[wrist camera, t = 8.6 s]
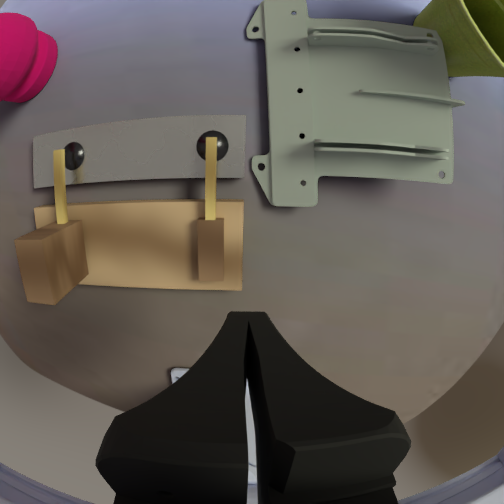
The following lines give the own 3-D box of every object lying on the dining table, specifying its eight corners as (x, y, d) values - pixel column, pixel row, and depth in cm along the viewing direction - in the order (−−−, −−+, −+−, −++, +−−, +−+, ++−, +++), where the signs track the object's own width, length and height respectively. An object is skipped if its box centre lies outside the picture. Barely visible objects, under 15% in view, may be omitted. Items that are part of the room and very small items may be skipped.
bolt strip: (243, 177, 19) (244, 178, 18) (41, 186, 18) (33, 188, 17) (245, 117, 18) (245, 115, 17) (40, 136, 17) (32, 136, 16)
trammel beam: (241, 283, 21) (241, 295, 19) (52, 276, 21) (40, 285, 19) (244, 139, 18) (245, 137, 16) (40, 155, 18) (25, 156, 16)
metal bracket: (452, 2, 10) (471, 220, 14) (429, 30, 15) (441, 205, 20) (238, -9, 13) (246, 210, 18) (258, 23, 19) (265, 197, 23)
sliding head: (88, 274, 19) (54, 305, 14) (63, 272, 19) (27, 301, 14) (78, 147, 16) (35, 148, 12) (52, 151, 16) (7, 155, 11)
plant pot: (427, 107, 18) (506, 96, 9) (371, 4, 15) (426, -47, 7) (489, 86, 17) (556, 79, 8) (444, -2, 14) (499, -32, 6)
